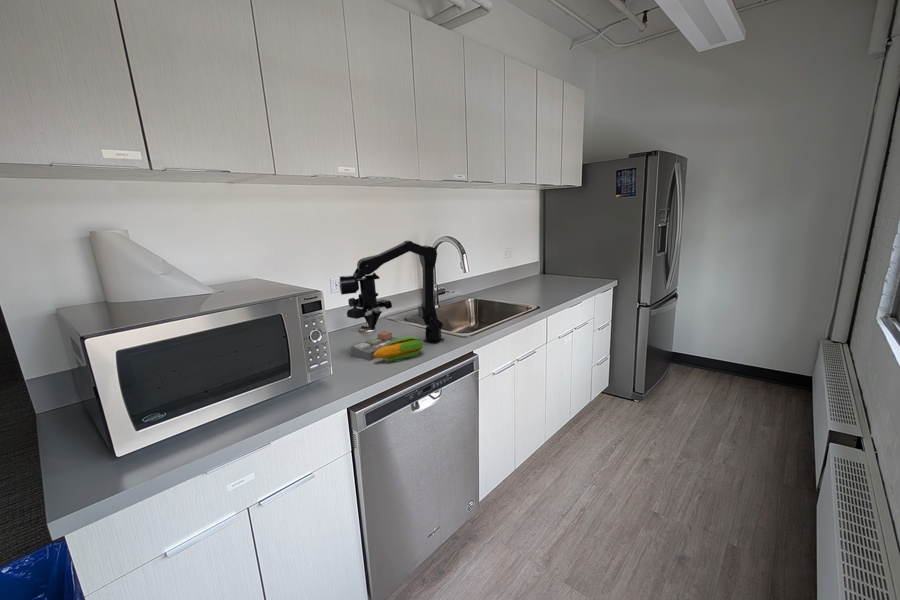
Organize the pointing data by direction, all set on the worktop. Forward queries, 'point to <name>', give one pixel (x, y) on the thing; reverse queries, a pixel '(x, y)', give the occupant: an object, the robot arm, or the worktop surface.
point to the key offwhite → (362, 346)
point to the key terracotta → (384, 335)
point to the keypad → (370, 349)
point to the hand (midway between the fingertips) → (372, 329)
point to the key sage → (373, 341)
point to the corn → (400, 349)
